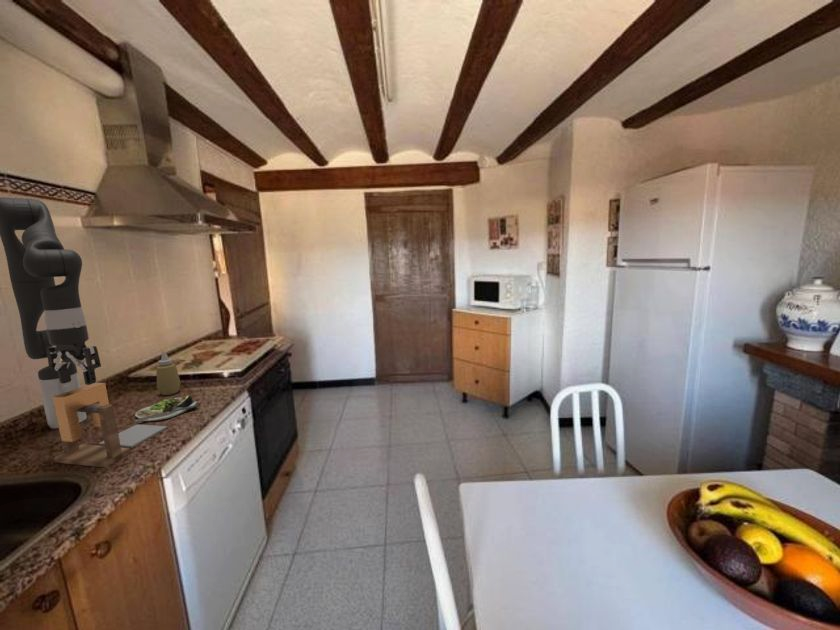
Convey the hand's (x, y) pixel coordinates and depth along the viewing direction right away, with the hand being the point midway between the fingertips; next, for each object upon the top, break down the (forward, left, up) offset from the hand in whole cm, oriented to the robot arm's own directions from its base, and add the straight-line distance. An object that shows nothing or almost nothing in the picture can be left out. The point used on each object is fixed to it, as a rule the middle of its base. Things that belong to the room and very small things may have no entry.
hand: (78, 383), depth 96 cm
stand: (0, 0, -22) cm, 22 cm away
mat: (0, +12, -22) cm, 25 cm away
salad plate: (-5, +30, -23) cm, 38 cm away
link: (0, 0, -14) cm, 14 cm away
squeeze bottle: (-21, +45, -23) cm, 54 cm away
